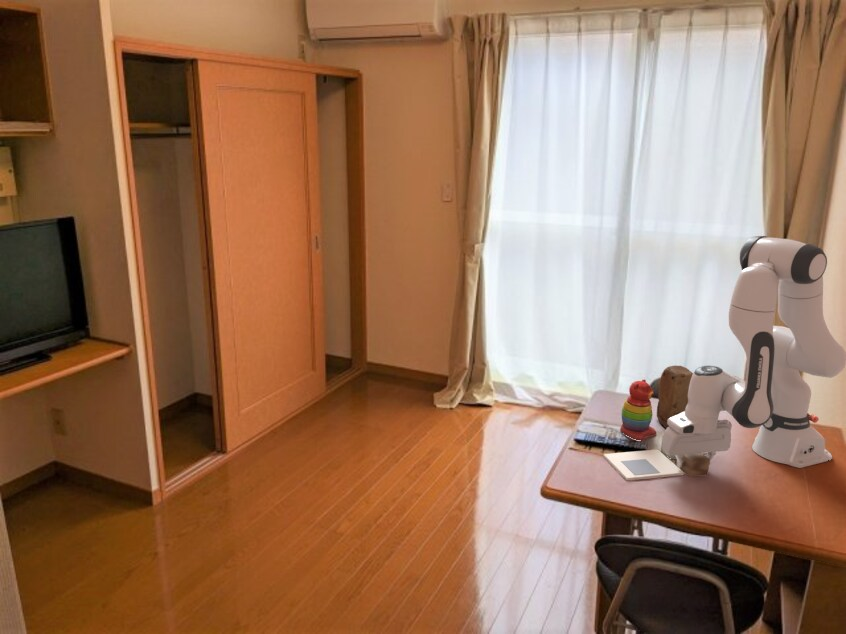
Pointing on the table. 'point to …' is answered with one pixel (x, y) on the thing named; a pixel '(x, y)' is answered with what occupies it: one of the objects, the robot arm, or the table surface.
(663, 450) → the sage cube
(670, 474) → the white flat board
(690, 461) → the walnut cube
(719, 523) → the table surface
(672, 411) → the block
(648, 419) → the stacking bear
